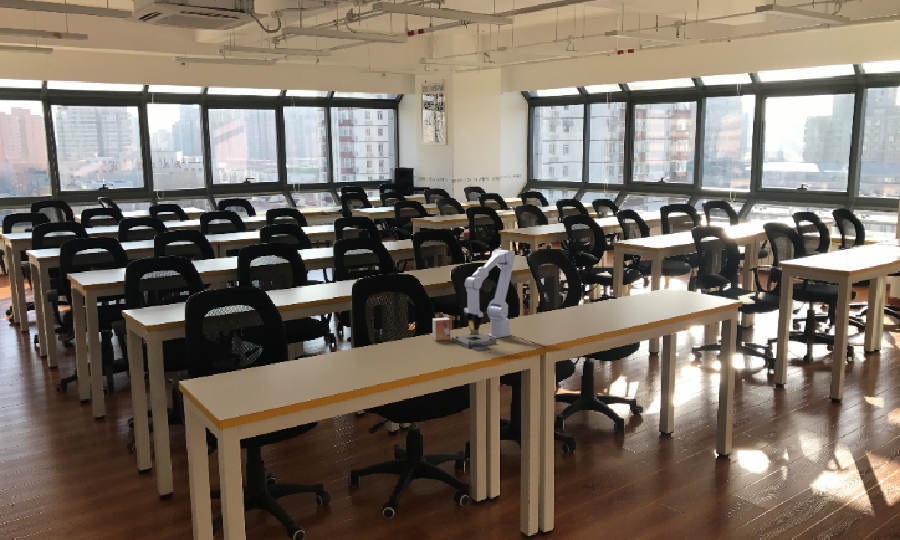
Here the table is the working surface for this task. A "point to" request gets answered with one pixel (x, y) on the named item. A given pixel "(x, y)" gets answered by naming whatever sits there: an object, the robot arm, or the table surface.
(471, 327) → the brass cylinder
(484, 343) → the housing
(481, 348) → the mat
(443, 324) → the small box
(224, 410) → the table surface
